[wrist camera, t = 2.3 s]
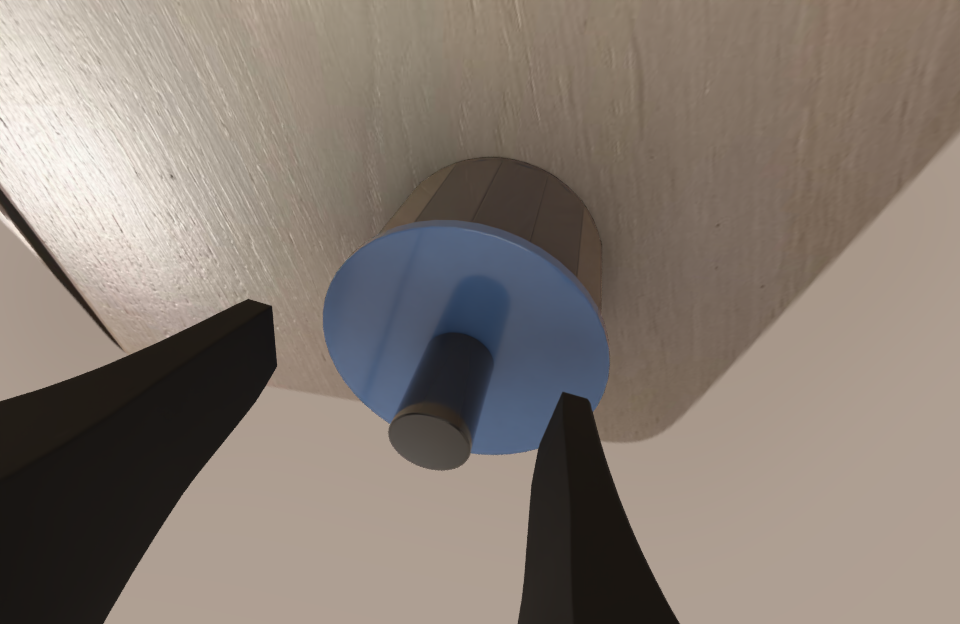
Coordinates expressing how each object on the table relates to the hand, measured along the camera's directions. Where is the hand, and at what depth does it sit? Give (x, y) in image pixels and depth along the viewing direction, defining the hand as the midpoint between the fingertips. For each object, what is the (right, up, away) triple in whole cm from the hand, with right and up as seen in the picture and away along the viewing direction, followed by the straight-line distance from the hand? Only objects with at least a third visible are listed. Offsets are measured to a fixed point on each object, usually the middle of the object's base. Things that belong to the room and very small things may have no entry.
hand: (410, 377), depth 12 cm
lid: (+1, 0, +5) cm, 5 cm away
